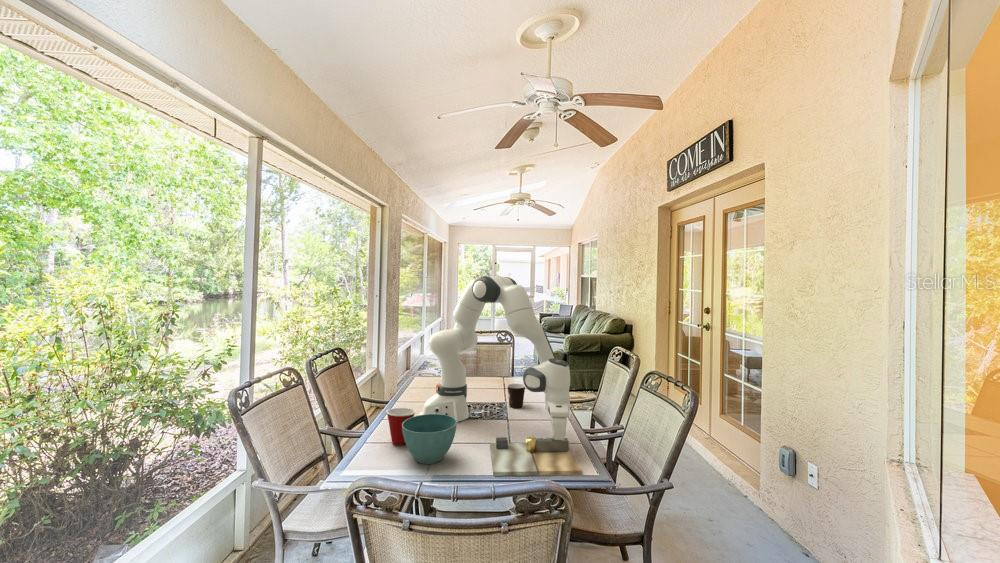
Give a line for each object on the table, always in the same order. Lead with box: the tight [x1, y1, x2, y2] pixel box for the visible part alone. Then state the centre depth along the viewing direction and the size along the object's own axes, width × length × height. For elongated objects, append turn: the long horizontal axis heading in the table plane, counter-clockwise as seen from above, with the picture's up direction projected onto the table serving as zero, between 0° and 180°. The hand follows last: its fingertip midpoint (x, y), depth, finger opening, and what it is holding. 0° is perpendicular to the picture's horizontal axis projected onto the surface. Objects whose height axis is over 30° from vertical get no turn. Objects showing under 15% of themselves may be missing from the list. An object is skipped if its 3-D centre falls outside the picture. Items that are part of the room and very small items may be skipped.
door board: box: [489, 442, 583, 477], centre depth 136 cm, size 28×22×1 cm
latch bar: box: [525, 436, 570, 452], centre depth 140 cm, size 15×4×4 cm, turn 94°
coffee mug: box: [507, 383, 526, 410], centre depth 195 cm, size 12×9×10 cm
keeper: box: [495, 436, 509, 449], centre depth 143 cm, size 4×3×3 cm
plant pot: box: [402, 414, 458, 465], centre depth 136 cm, size 18×18×12 cm
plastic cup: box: [385, 407, 417, 447], centre depth 149 cm, size 11×11×12 cm
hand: (557, 442), depth 145 cm, fingers closed
